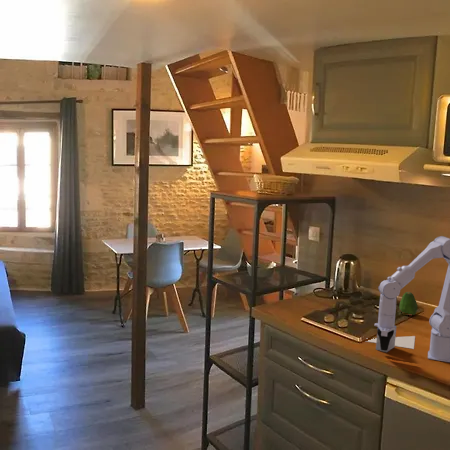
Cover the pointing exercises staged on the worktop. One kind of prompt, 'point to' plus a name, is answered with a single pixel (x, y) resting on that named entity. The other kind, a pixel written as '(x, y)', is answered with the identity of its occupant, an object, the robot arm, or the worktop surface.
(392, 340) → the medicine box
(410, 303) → the avocado
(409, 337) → the card
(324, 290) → the worktop surface
